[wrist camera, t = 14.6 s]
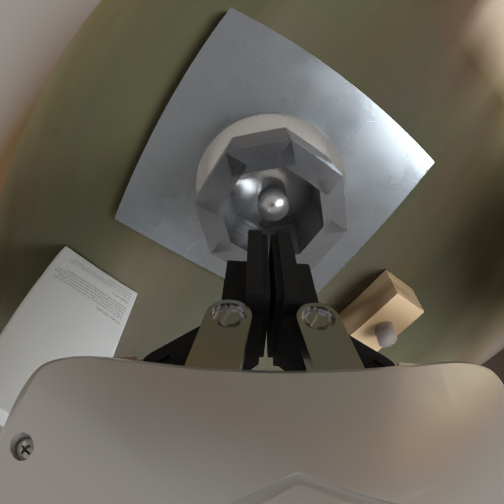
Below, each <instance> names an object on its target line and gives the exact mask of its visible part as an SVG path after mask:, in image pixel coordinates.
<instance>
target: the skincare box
mask: <svg viewBox="0 0 504 504" xmlns="http://www.w3.org/2000/svg"><path fill="white" fill-rule="evenodd" d="M136 296H137V293H136V292H134V291H133V290H131V289H130V288H128V287H126V286H125V285H123V284H122V283H120V282H119V281H117V280H115V279H114V278H112V277H111V276H109V275H108V274H106V273H105V272H103V271H102V270H100V269H99V268H97V267H96V266H94V265H93V264H91V263H90V262H88V261H87V260H86V259H84V258H83V257H81V256H80V255H78V254H77V253H76V252H74V251H73V250H71V249H70V248H69V247H67V246H65V247H64V248H63V249H62V250H61V251H60V252H59V254H58V255H57V256H56V257H55V258H54V260H53V261H52V262H51V264H50V265H49V266H48V267H47V269H46V270H45V271H44V273H43V274H42V275H41V277H40V278H39V279H38V281H37V282H36V283H35V285H34V286H33V287H32V289H31V290H30V291H29V293H28V294H27V295H26V297H25V298H24V300H23V301H22V303H21V304H20V305H19V307H18V308H17V310H16V311H15V313H14V314H13V316H12V317H11V319H10V320H9V322H8V323H7V325H6V326H5V328H4V330H3V331H2V333H1V334H0V425H1V426H3V427H4V425H5V422H6V420H7V418H8V416H9V413H10V411H11V409H12V407H13V405H14V403H15V401H16V399H17V397H18V395H19V393H20V391H21V390H22V388H23V386H24V385H25V383H26V382H27V380H28V379H29V377H30V376H31V375H32V374H33V373H34V372H35V370H36V369H38V368H39V367H40V366H41V365H43V364H45V363H46V362H49V361H52V360H55V359H59V358H65V357H72V356H103V357H113V356H114V353H115V350H116V347H117V345H118V342H119V340H120V337H121V334H122V332H123V329H124V327H125V324H126V322H127V319H128V317H129V314H130V311H131V309H132V306H133V304H134V301H135V299H136Z"/></svg>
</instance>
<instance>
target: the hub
mask: <svg viewBox="0 0 504 504" xmlns="http://www.w3.org/2000/svg"><path fill="white" fill-rule="evenodd" d="M284 127H286V128H287V129H289V130H290V131H292V132H293V133H295V134H296V135H298V136H299V137H301V138H302V139H304V140H305V141H307V142H308V143H309V144H311V145H312V146H314V147H315V148H316V149H318V150H319V151H321V152H322V153H323V154H325V155H326V156H327V157H328V158H329V159H330V160H331V161H332V163H333V164H334V165H335V167H336V168H337V169H338V171H339V172H340V173H341V175H342V176H343V183H344V194H345V207H346V221H347V232H346V233H345V234H344V235H343V236H342V238H341V239H340V240H339V241H338V242H337V243H336V244H335V245H334V246H333V248H332V249H331V250H330V251H329V252H328V253H327V254H326V255H325V256H324V257H323V259H322V260H321V261H320V262H319V263H318V264H317V265H316V266H315V267H314V268H313V269H312V270H311V274H312V278H313V282H314V286H315V290H316V294H317V293H318V292H319V291H320V290H321V289H322V288H323V287H324V286H325V285H326V284H327V283H328V282H329V281H330V280H331V279H332V278H333V277H334V276H335V275H336V274H337V273H338V272H339V270H340V269H341V268H342V267H343V266H344V265H345V264H346V263H347V262H348V261H349V260H350V259H351V258H352V257H353V256H354V255H355V254H356V253H357V251H358V250H359V249H360V248H361V247H362V246H363V245H364V244H365V243H366V242H367V241H368V240H369V238H370V237H371V236H372V235H373V234H374V233H375V232H376V231H377V230H378V228H379V227H380V226H381V225H382V224H383V223H384V222H385V221H386V219H387V218H388V217H389V216H390V215H391V214H392V213H393V211H394V210H395V209H396V208H397V207H398V206H399V205H400V203H401V202H402V201H403V200H404V199H405V197H406V196H407V195H408V194H409V193H410V192H411V190H412V189H413V188H414V187H415V186H416V184H417V183H418V182H419V181H420V179H421V178H422V177H423V176H424V175H425V173H426V172H427V171H428V170H429V168H430V167H431V166H432V165H433V163H434V161H433V160H432V159H431V158H430V156H429V155H428V154H427V153H426V152H425V151H424V150H423V149H422V148H421V147H420V146H419V145H418V144H417V143H416V142H415V141H414V140H413V139H412V138H411V137H410V136H409V135H408V134H407V133H406V132H405V131H404V130H403V129H402V128H401V127H400V126H399V125H398V124H397V123H396V122H395V121H394V120H393V119H392V118H391V117H389V116H388V115H387V114H386V113H385V112H384V111H383V110H382V109H381V108H380V107H378V106H377V105H376V104H375V103H374V102H373V101H371V100H370V99H369V98H368V97H367V96H366V95H364V94H363V93H362V92H361V91H360V90H358V89H357V88H356V87H355V86H353V85H352V84H351V83H350V82H348V81H347V80H346V79H344V78H343V77H342V76H341V75H339V74H338V73H337V72H335V71H334V70H333V69H331V68H330V67H328V66H327V65H326V64H324V63H323V62H321V61H320V60H319V59H317V58H316V57H314V56H313V55H311V54H310V53H308V52H307V51H305V50H304V49H302V48H301V47H299V46H298V45H296V44H295V43H293V42H291V41H290V40H288V39H287V38H285V37H283V36H282V35H280V34H278V33H277V32H275V31H273V30H272V29H270V28H268V27H266V26H265V25H263V24H261V23H259V22H257V21H256V20H254V19H252V18H250V17H248V16H246V15H244V14H242V13H240V12H238V11H236V10H234V9H232V8H230V9H229V10H228V12H227V13H226V14H225V16H224V17H223V18H222V20H221V21H220V22H219V24H218V25H217V27H216V28H215V29H214V31H213V32H212V34H211V35H210V37H209V38H208V40H207V41H206V42H205V44H204V45H203V47H202V48H201V50H200V51H199V53H198V54H197V56H196V58H195V59H194V61H193V62H192V64H191V65H190V67H189V69H188V70H187V72H186V74H185V75H184V77H183V78H182V80H181V82H180V83H179V85H178V87H177V89H176V90H175V92H174V94H173V95H172V97H171V99H170V101H169V103H168V104H167V106H166V108H165V110H164V112H163V113H162V115H161V117H160V119H159V121H158V123H157V125H156V127H155V129H154V131H153V133H152V135H151V137H150V139H149V141H148V143H147V145H146V147H145V149H144V151H143V153H142V155H141V157H140V159H139V161H138V164H137V166H136V168H135V170H134V172H133V175H132V177H131V179H130V181H129V184H128V186H127V188H126V191H125V193H124V195H123V198H122V200H121V203H120V205H119V208H118V210H117V213H116V215H115V218H114V219H115V220H117V221H119V222H121V223H123V224H124V225H126V226H128V227H130V228H131V229H133V230H135V231H137V232H139V233H140V234H142V235H144V236H146V237H148V238H150V239H151V240H153V241H155V242H157V243H159V244H160V245H162V246H164V247H166V248H168V249H170V250H172V251H173V252H175V253H177V254H179V255H181V256H183V257H185V258H186V259H188V260H190V261H192V262H194V263H196V264H198V265H200V266H202V267H203V268H205V269H207V270H209V271H211V272H213V273H215V274H217V275H219V276H221V277H223V278H225V273H226V266H227V262H225V261H223V260H221V259H219V258H218V257H216V256H214V255H212V254H211V253H210V250H209V247H208V244H207V241H206V238H205V235H204V232H203V229H202V226H201V223H200V220H199V217H198V214H197V211H196V208H195V205H194V202H195V200H196V198H197V196H198V194H199V192H200V190H201V188H202V186H203V184H204V182H205V180H206V178H207V177H208V175H209V173H210V172H211V170H212V169H213V167H214V165H215V164H216V162H217V161H218V159H219V157H220V156H221V154H222V153H223V151H224V150H225V148H226V146H227V145H228V143H229V142H230V140H231V139H232V137H236V136H241V135H246V134H251V133H256V132H261V131H267V130H272V129H278V128H284ZM230 194H231V197H232V201H233V205H234V209H235V212H236V213H237V214H239V215H241V216H242V217H244V218H246V219H248V220H249V221H251V222H253V223H254V224H256V225H258V226H260V227H261V228H267V227H273V226H279V225H285V224H291V223H294V222H295V221H296V220H297V219H298V217H299V216H300V215H301V214H302V212H303V211H304V210H305V209H306V207H307V206H308V205H309V204H310V202H311V201H312V200H313V193H312V186H311V184H310V183H309V182H307V181H306V180H304V179H303V178H301V177H300V176H298V175H297V174H295V173H294V172H292V171H291V170H289V169H288V168H286V167H281V168H275V169H269V170H264V171H258V172H253V173H248V174H243V175H242V176H241V177H240V179H239V180H238V182H237V183H236V185H235V186H234V188H233V189H232V191H231V192H230Z"/></svg>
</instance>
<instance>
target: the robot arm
mask: <svg viewBox="0 0 504 504" xmlns="http://www.w3.org/2000/svg"><path fill="white" fill-rule="evenodd" d="M266 332H267V354H268V357H273V366H279V367H280V368H282V369H283V370H284V371H264V370H251V369H252V368H254V367H255V366H256V365H258V363H259V357H263V356H264V348H265V340H266ZM0 504H504V385H503V384H502V382H501V381H500V380H499V378H498V377H497V376H496V374H495V373H494V372H493V371H491V370H490V369H488V368H486V367H483V366H481V365H478V364H473V363H469V362H459V361H449V362H434V363H422V364H410V363H401V362H399V363H398V365H394V363H393V362H392V361H391V360H389V359H388V358H386V357H385V356H383V355H382V354H380V353H378V352H377V351H375V350H373V349H372V348H370V347H368V346H367V345H365V344H363V343H362V342H360V341H359V340H357V339H355V338H354V337H352V336H350V335H349V334H348V332H347V330H346V328H345V326H344V324H343V322H342V320H341V318H340V316H339V314H338V313H337V312H336V311H335V310H334V309H333V308H332V307H330V306H328V305H325V304H321V303H319V302H318V298H317V294H316V290H315V286H314V282H313V278H312V274H311V270H310V266H309V264H297V262H296V257H295V252H294V248H293V243H292V238H291V233H290V232H284V231H276V235H274V234H271V239H270V249H269V257H268V241H267V234H262V230H248V247H247V261H233V260H228V261H227V266H226V273H225V280H224V287H223V294H222V300H221V301H218V302H215V303H213V304H212V305H211V306H210V307H209V308H208V310H207V311H206V314H205V316H204V318H203V321H202V323H201V326H199V327H197V328H195V329H193V330H192V331H190V332H188V333H186V334H184V335H183V336H181V337H179V338H177V339H175V340H174V341H172V342H170V343H168V344H166V345H164V346H163V347H161V348H159V349H157V350H155V351H153V352H152V353H150V354H149V355H147V356H146V357H145V358H144V359H137V356H131V357H103V356H72V357H65V358H59V359H55V360H52V361H49V362H46V363H45V364H43V365H41V366H40V367H39V368H38V369H36V370H35V372H34V373H33V374H32V375H31V376H30V377H29V379H28V380H27V382H26V383H25V385H24V386H23V388H22V390H21V391H20V393H19V395H18V397H17V399H16V401H15V403H14V405H13V407H12V409H11V411H10V413H9V416H8V418H7V420H6V422H5V425H4V428H3V430H2V433H1V436H0Z"/></svg>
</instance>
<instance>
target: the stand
mask: <svg viewBox="0 0 504 504" xmlns="http://www.w3.org/2000/svg"><path fill="white" fill-rule="evenodd" d="M423 313H424V310H423V308H422V307H421V305H420V303H419V301H418V299H417V297H416V295H415V293H414V292H413V290H412V289H411V288H410V287H409V286H407V285H406V284H405V283H403V282H402V281H401V280H399V279H398V278H397V277H395V276H394V275H393V274H391V273H390V272H389V271H387V270H385V271H384V272H383V273H382V274H381V275H380V276H379V277H378V278H377V279H376V280H375V281H374V282H373V283H371V284H370V285H369V286H368V287H367V288H366V289H365V290H364V291H363V292H362V293H361V294H360V295H359V296H358V297H357V298H356V299H355V300H354V301H353V302H352V303H351V304H350V305H348V306H347V307H346V308H345V309H344V310H343V311H342V312H341V313H340V314H339V316H340V318H341V320H342V322H343V324H344V326H345V328H346V330H347V332H348V334H349V335H350V336H352V337H354V338H355V339H357V340H359V341H360V342H362V343H363V344H365V345H367V346H368V347H370V348H372V349H373V350H375V351H378V350H380V349H381V348H382V347H389V346H391V345H393V344H394V343H395V342H396V341H397V335H398V334H400V333H401V332H402V331H403V330H404V329H405V328H407V327H408V326H409V325H410V324H411V323H412V322H414V321H415V320H416V319H417V318H418V317H419V316H420V315H421V314H423Z"/></svg>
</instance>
